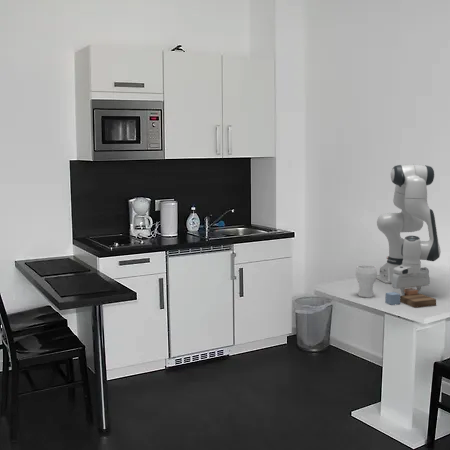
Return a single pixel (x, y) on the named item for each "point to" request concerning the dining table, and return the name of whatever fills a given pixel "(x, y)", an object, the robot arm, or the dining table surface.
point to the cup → (366, 279)
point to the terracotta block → (410, 291)
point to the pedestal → (418, 300)
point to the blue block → (392, 298)
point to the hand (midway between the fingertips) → (410, 295)
